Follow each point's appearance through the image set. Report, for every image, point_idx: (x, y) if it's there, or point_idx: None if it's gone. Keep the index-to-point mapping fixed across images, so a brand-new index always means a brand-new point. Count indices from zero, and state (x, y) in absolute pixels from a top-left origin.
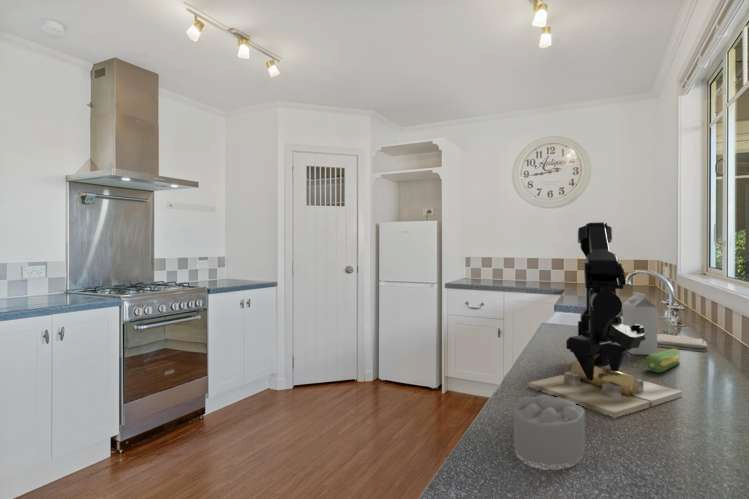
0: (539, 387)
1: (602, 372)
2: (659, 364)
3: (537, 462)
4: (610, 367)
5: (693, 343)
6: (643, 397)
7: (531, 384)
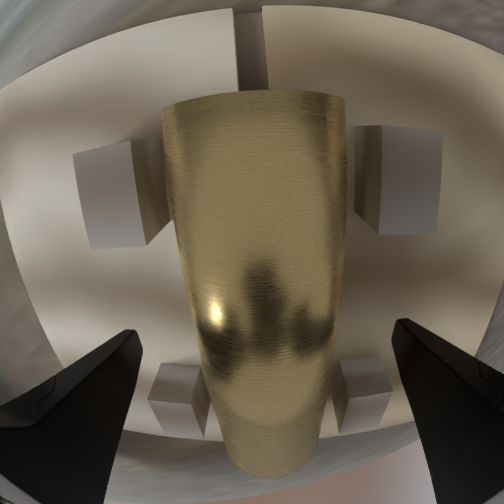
0: None
1: (321, 346)
2: None
3: None
4: (135, 384)
5: None
6: (221, 59)
7: None
